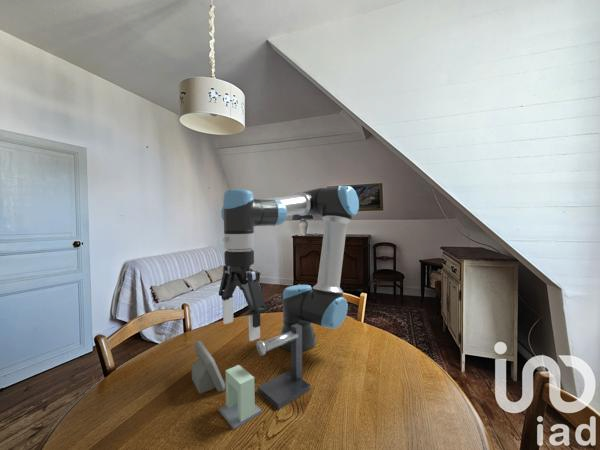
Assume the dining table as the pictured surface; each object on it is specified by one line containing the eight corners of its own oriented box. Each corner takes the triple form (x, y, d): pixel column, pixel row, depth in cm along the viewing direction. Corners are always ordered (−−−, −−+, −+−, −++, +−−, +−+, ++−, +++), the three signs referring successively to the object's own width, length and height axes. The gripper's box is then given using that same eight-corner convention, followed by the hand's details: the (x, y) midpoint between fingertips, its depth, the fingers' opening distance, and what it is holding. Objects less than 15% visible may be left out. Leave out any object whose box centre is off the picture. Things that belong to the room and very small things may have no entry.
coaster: (219, 411, 70) (219, 408, 70) (245, 397, 75) (245, 394, 75) (233, 429, 64) (233, 426, 64) (261, 413, 69) (261, 410, 69)
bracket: (226, 404, 71) (225, 370, 71) (239, 398, 74) (238, 364, 74) (240, 421, 65) (240, 384, 65) (254, 413, 68) (254, 377, 68)
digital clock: (226, 393, 77) (226, 357, 77) (193, 402, 73) (192, 364, 73) (219, 365, 92) (218, 335, 92) (191, 371, 88) (190, 340, 88)
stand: (250, 394, 76) (250, 333, 76) (289, 374, 86) (289, 320, 86) (271, 413, 69) (270, 345, 68) (310, 389, 79) (310, 329, 78)
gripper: (205, 247, 75) (207, 320, 76) (252, 256, 57) (253, 353, 57) (229, 245, 80) (231, 313, 81) (280, 252, 62) (281, 342, 63)
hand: (240, 330), depth 69 cm, fingers open, 13 cm apart
